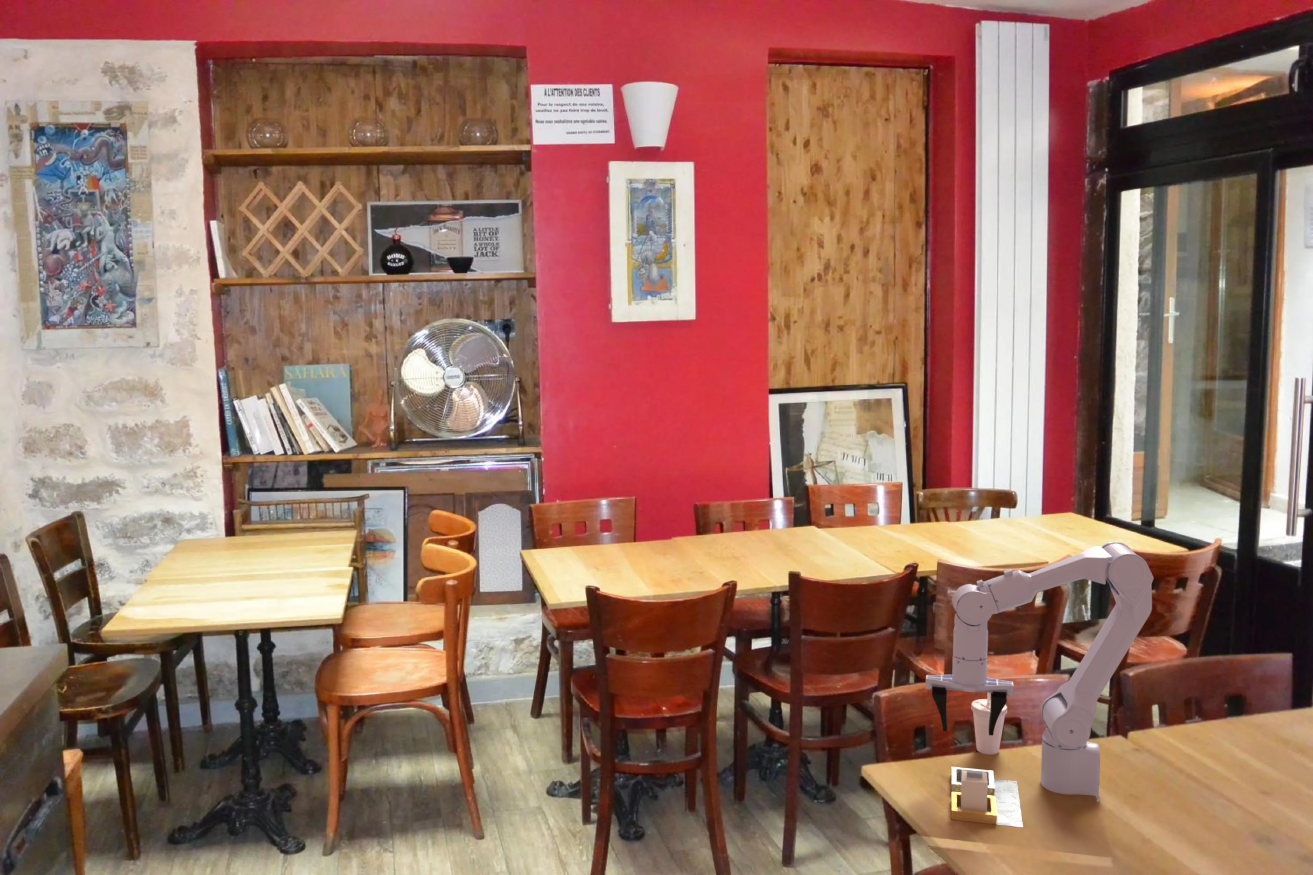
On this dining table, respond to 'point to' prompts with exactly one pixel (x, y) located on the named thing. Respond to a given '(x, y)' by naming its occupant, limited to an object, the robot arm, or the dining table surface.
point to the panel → (988, 801)
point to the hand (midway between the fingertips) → (967, 730)
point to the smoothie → (987, 726)
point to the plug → (974, 790)
